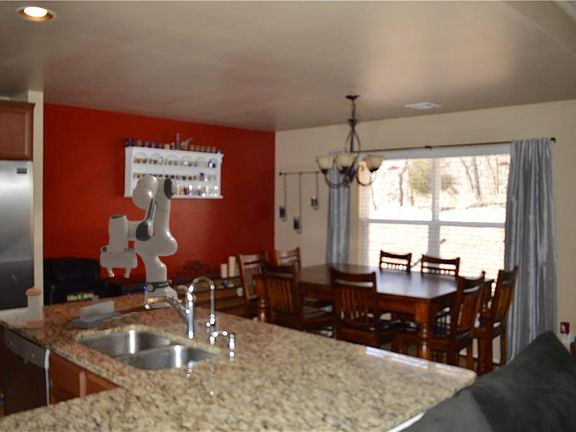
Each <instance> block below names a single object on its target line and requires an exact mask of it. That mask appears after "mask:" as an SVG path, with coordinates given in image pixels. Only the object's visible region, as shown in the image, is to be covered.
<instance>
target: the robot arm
mask: <svg viewBox="0 0 576 432" xmlns="http://www.w3.org/2000/svg"><path fill="white" fill-rule="evenodd" d="M177 186H178V185H177V182H176V180H175V179H174V178H172V177H164V176H153V175H151V174H145V175H143V176H142V177H141V178H139V179H138V181H137V182H136V185H135V187H134V189H133V192H132V195H131V200H132V201H133V204H134V205H135V206H136V207H138V208H139V209H141V210H144V211H145V215H144V219H142V220H134V221H133V220H129V219H128V218H127V215H126V214H122V213H120V214H119V213H118V214H114V215H111V216H110V217H109V220H108V221H109V222H108V235H109V239H108V244H107V245H105V246H103V247H101V248H100V252H101V253H100V255H99V257H100V261H99V262H100V264H99V265H100V266H101V267H102V268H106V270H107V272H108V276H109V277H110V278H111V277H112V278H113V277H115V273H114V272H113V268H116V269H117V268H118V269H125V273H123V275H124V277H123V278H127V279H128V278H130V273H131V271H132V269H136V268H137V267H138V258H137V255H139V256H140V258H141V259H142V262H143V264H144V267H145V275H146V276H145V278H146V279H145V280H146V281H145V288H146V290H145V292H144V302H143V306H144V304H145V302H146V300H147V299H148V298H151V297H154V296H167V297H170V298H173V299H175V300H177V301H178V302H179V304H180V303H182V302H183V299H182V300H181V299H179V298H178V293H177V291H176V290H174V289H173V288H172V287H171V286H170V284H172V282H173V281H172V279H167V278H168V276H167V273H168V271H167V270H168V269H167V266H166V264H165V263H163V262H162V261H161V259H160V258H159V257H168V256H172V255H174V254H175V253H176V252H177V251H178V242H177V240H176V238H175V237H173V236H172V234H171V230H170V216H171V215H170V214H171V199H172V198H173V197H174V196H175V194H176V192H177V188H178V187H177ZM129 241H133V242H134V243H133V248H129ZM172 307H173V306H171V305H170V304H169V303H167V302H158V303H154V304H153V307H152V308H151V309H162V308H172Z"/></svg>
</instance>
